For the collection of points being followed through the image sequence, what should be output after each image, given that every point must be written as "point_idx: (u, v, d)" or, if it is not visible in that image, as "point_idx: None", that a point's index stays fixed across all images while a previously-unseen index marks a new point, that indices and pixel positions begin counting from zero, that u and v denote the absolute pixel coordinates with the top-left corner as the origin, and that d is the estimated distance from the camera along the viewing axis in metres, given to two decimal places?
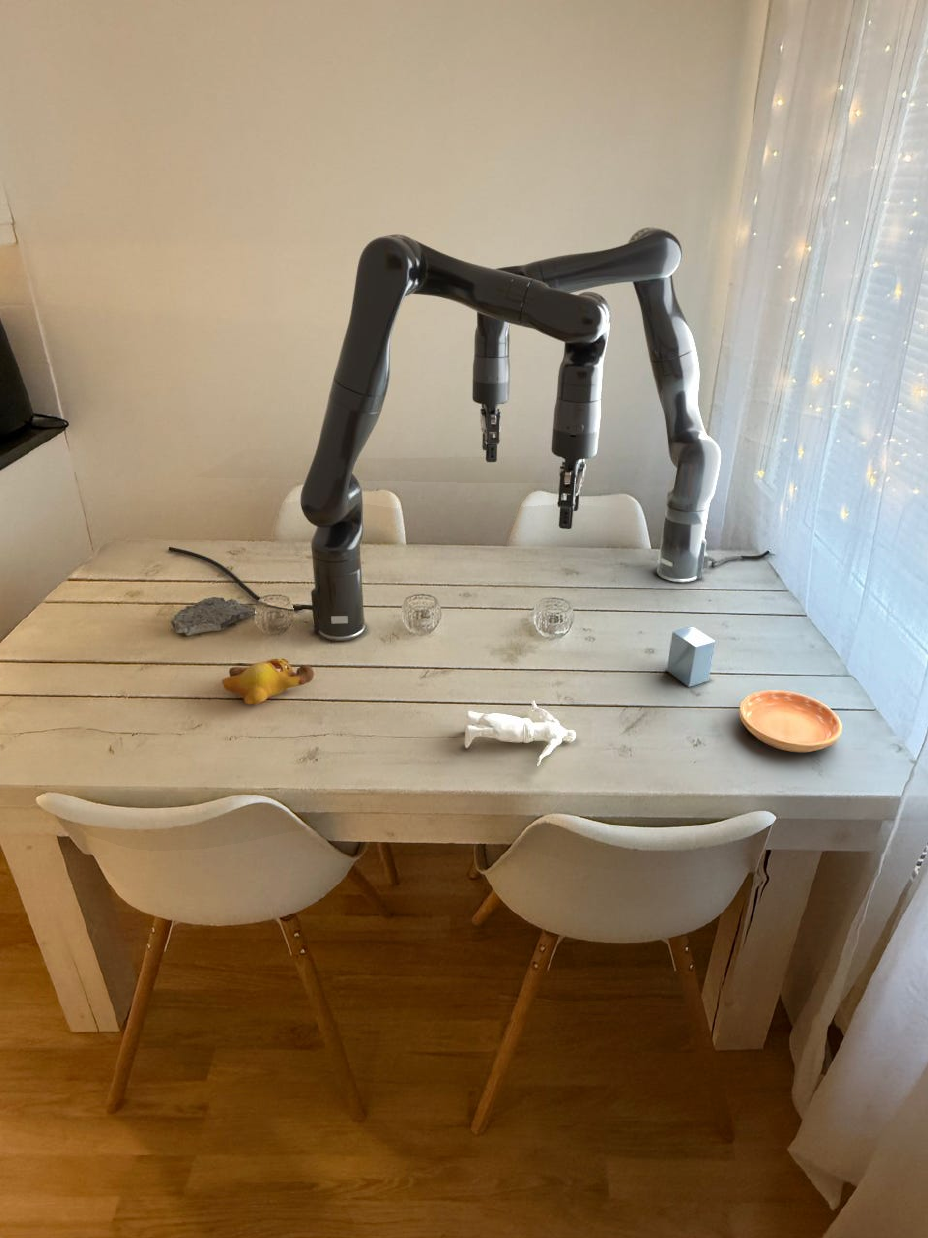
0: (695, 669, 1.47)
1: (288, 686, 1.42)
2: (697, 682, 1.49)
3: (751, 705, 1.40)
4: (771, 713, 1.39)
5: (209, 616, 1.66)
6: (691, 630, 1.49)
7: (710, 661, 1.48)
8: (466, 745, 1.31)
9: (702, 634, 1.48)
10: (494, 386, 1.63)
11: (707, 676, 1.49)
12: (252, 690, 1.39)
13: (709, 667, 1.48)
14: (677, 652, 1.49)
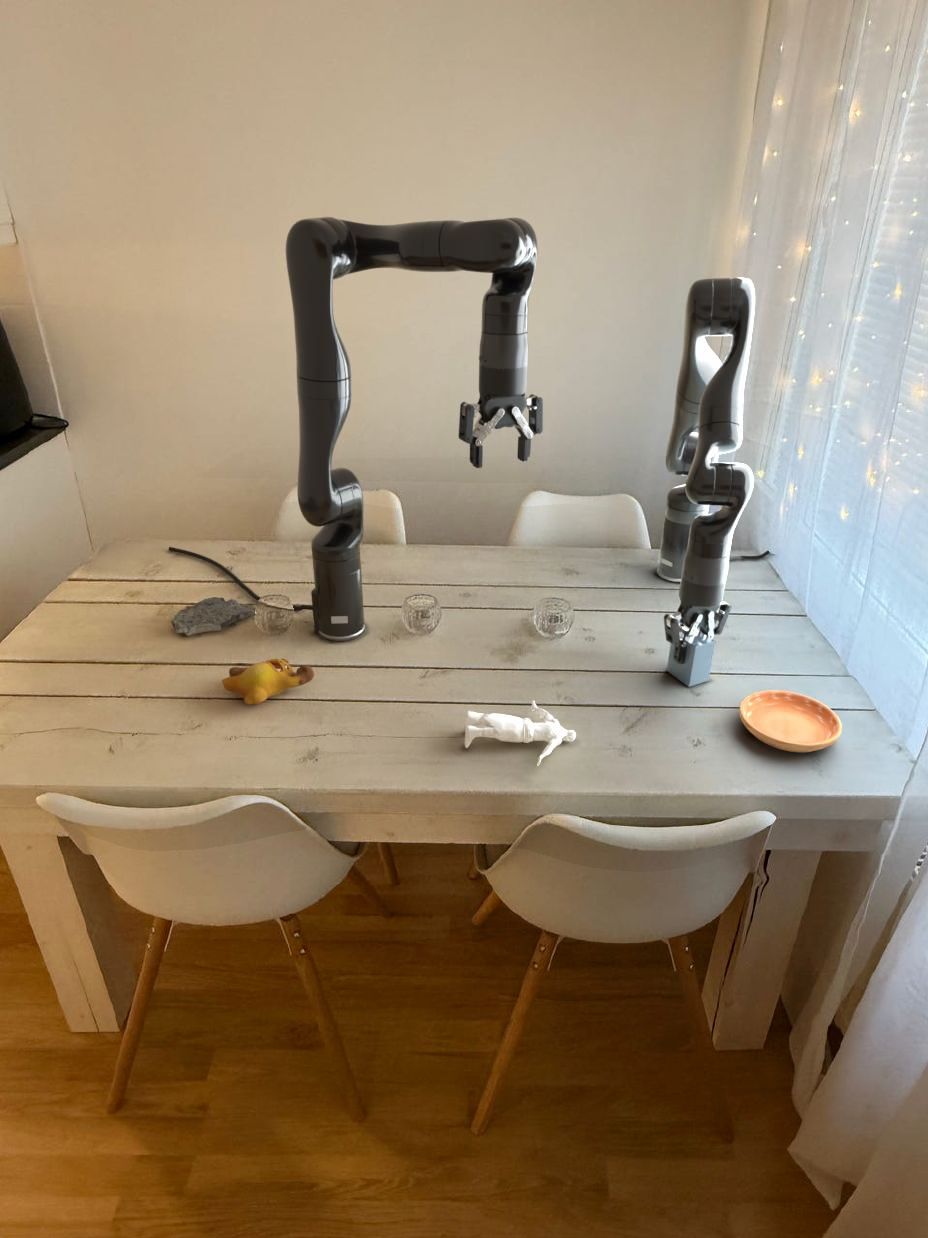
0: (695, 669, 1.47)
1: (288, 686, 1.42)
2: (697, 682, 1.49)
3: (751, 705, 1.40)
4: (771, 713, 1.39)
5: (209, 616, 1.66)
6: None
7: (710, 661, 1.48)
8: (466, 745, 1.31)
9: (702, 634, 1.48)
10: (688, 584, 1.40)
11: (707, 676, 1.49)
12: (252, 690, 1.39)
13: (709, 667, 1.48)
14: None
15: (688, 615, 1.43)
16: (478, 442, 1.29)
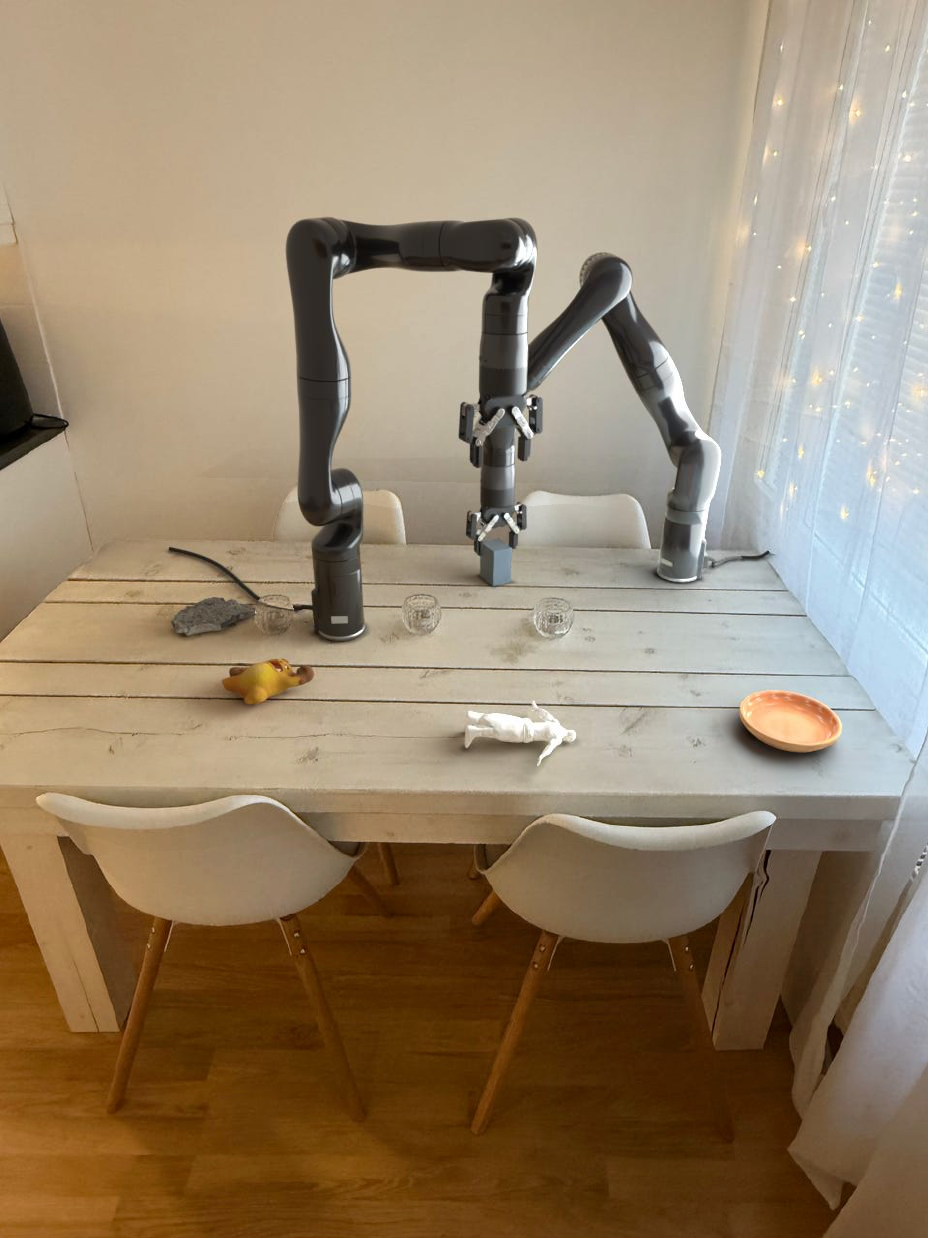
0: (496, 570, 1.83)
1: (288, 686, 1.42)
2: (500, 582, 1.84)
3: (751, 705, 1.40)
4: (771, 713, 1.39)
5: (209, 616, 1.66)
6: (496, 540, 1.85)
7: (509, 565, 1.84)
8: (466, 745, 1.31)
9: (503, 543, 1.84)
10: (483, 489, 1.75)
11: (509, 578, 1.85)
12: (252, 690, 1.39)
13: (509, 570, 1.84)
14: (484, 558, 1.85)
15: (486, 516, 1.77)
16: (478, 442, 1.29)
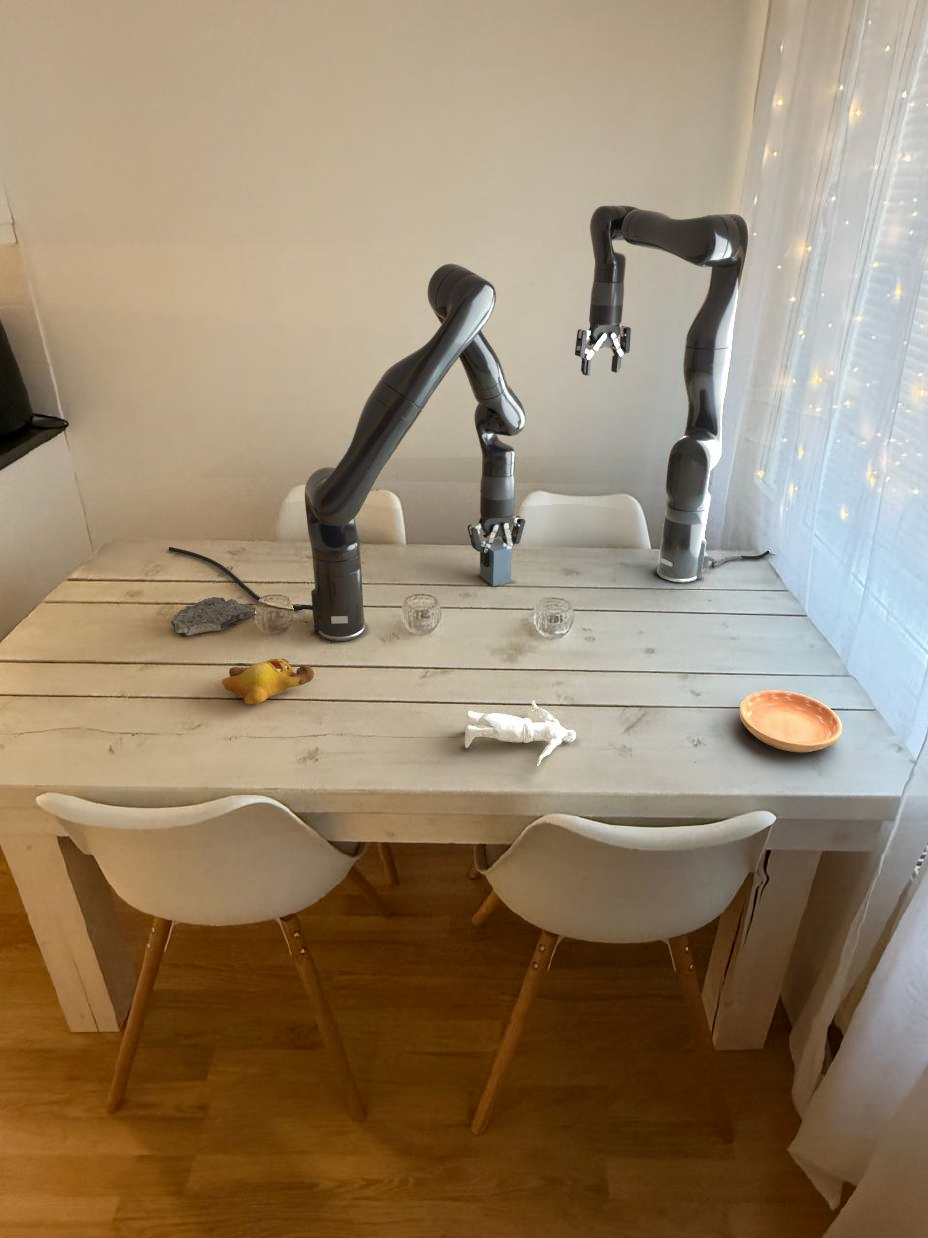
0: (496, 570, 1.83)
1: (288, 686, 1.42)
2: (500, 582, 1.84)
3: (751, 705, 1.40)
4: (771, 713, 1.39)
5: (209, 616, 1.66)
6: (496, 541, 1.85)
7: (509, 565, 1.84)
8: (466, 745, 1.31)
9: (503, 543, 1.84)
10: (594, 307, 1.88)
11: (509, 578, 1.85)
12: (252, 690, 1.39)
13: (509, 570, 1.84)
14: None
15: (595, 334, 1.90)
16: (486, 550, 1.81)
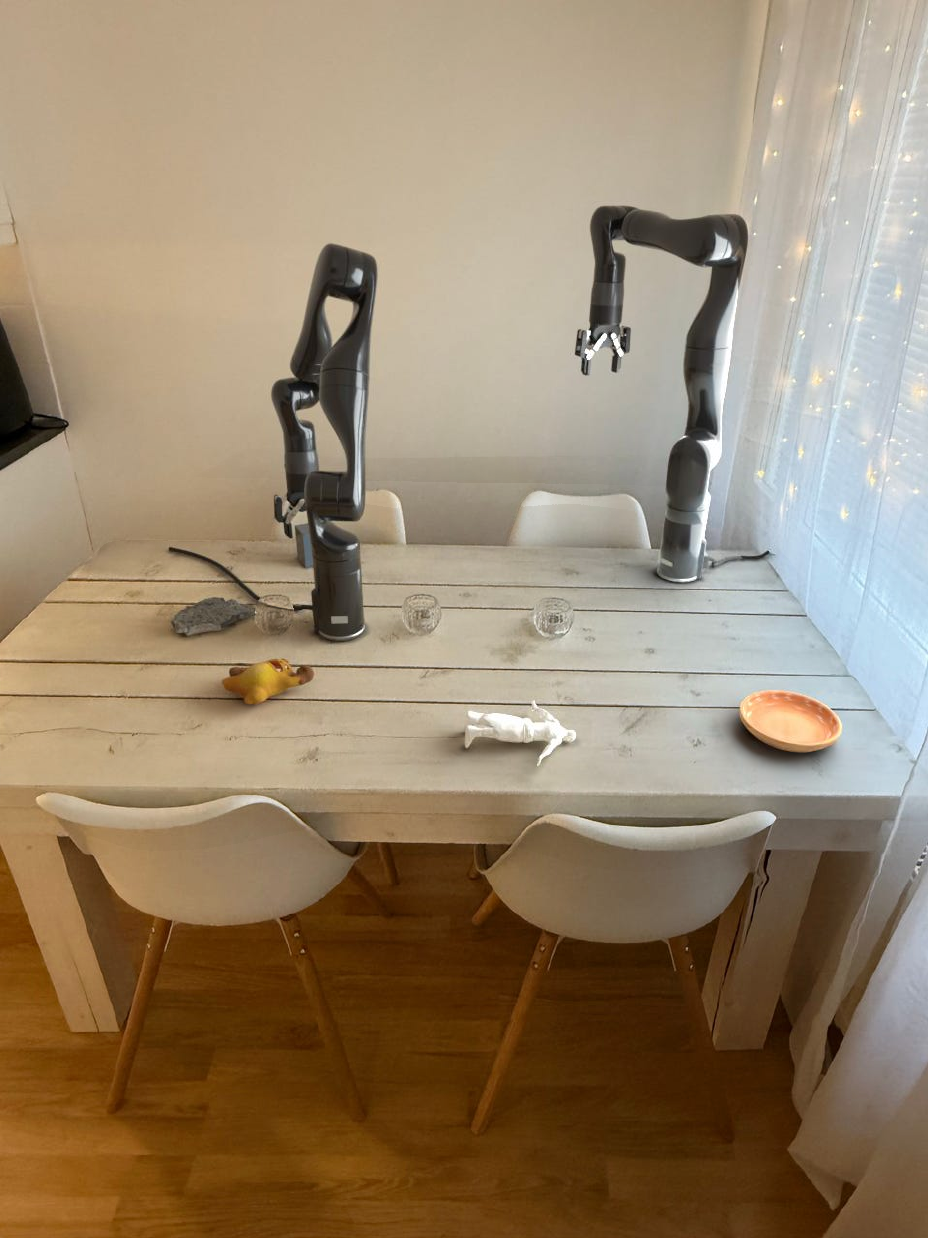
0: (307, 552, 1.90)
1: (288, 686, 1.42)
2: None
3: (751, 705, 1.40)
4: (771, 713, 1.39)
5: (209, 616, 1.66)
6: None
7: None
8: (466, 745, 1.31)
9: None
10: (594, 307, 1.88)
11: None
12: (252, 690, 1.39)
13: None
14: (298, 541, 1.92)
15: (595, 334, 1.90)
16: (287, 521, 1.86)
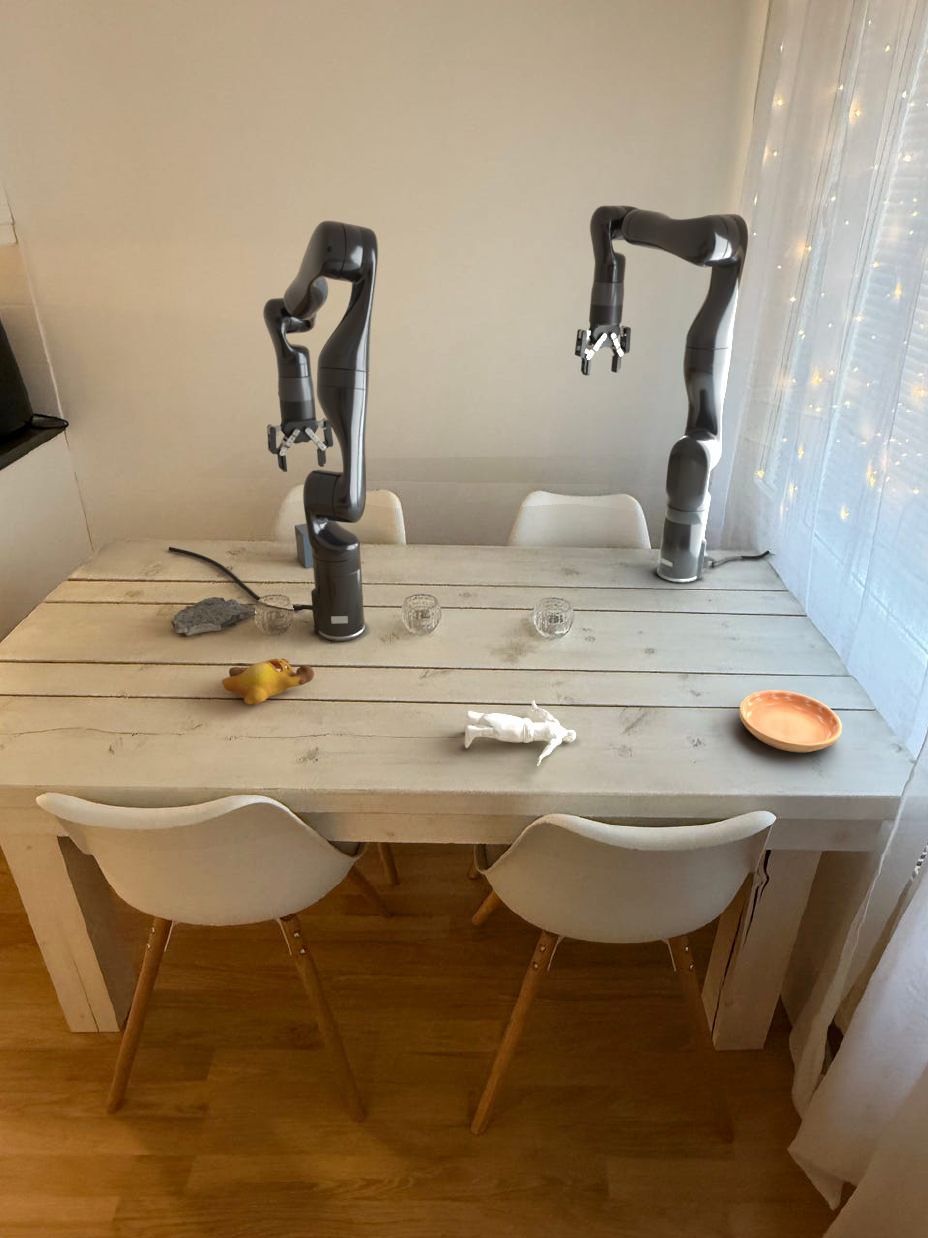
0: (307, 552, 1.90)
1: (288, 686, 1.42)
2: None
3: (751, 705, 1.40)
4: (771, 713, 1.39)
5: (209, 616, 1.66)
6: None
7: None
8: (466, 745, 1.31)
9: None
10: (594, 307, 1.88)
11: None
12: (252, 690, 1.39)
13: None
14: (298, 541, 1.92)
15: (595, 334, 1.90)
16: (281, 453, 1.79)
